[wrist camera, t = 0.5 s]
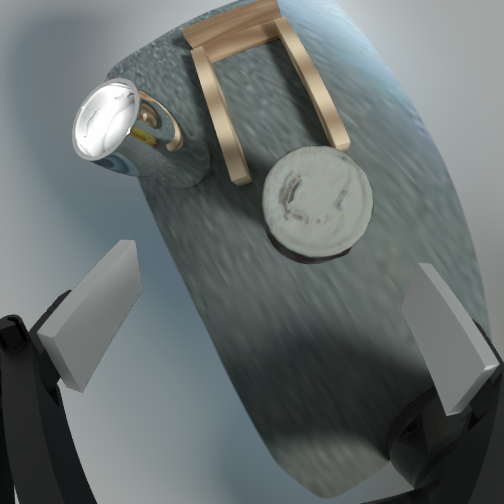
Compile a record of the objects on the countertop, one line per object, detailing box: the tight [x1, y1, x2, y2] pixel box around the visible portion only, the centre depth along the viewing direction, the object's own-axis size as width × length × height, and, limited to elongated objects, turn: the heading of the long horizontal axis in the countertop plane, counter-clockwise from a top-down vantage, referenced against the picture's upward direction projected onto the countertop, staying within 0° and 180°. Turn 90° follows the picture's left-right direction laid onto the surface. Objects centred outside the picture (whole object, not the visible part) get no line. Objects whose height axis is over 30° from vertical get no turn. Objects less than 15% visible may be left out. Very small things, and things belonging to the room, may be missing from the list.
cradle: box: [182, 0, 350, 187], centre depth 28 cm, size 22×12×4 cm, turn 18°
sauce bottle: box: [261, 145, 374, 264], centre depth 19 cm, size 7×6×20 cm
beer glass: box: [72, 78, 211, 188], centre depth 24 cm, size 7×7×15 cm
